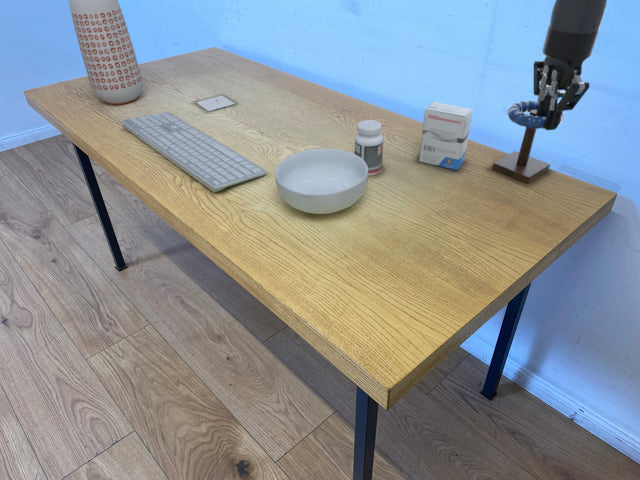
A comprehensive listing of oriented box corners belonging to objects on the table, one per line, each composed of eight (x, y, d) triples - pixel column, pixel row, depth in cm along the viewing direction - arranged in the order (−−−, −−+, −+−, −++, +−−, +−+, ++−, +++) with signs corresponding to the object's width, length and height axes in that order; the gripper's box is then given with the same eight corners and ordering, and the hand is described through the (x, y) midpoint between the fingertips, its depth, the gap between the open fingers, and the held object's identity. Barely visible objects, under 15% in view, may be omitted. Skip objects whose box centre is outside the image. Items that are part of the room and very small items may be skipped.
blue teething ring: (572, 119, 89) (576, 108, 88) (544, 135, 84) (547, 123, 83) (524, 105, 96) (526, 95, 94) (495, 119, 90) (497, 108, 89)
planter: (156, 94, 135) (129, -16, 118) (122, 111, 126) (88, -6, 108) (120, 88, 140) (90, -19, 122) (85, 104, 130) (47, -10, 113)
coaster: (195, 102, 129) (195, 99, 129) (221, 95, 133) (221, 92, 133) (208, 111, 124) (207, 108, 124) (235, 103, 128) (234, 101, 127)
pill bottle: (385, 166, 99) (388, 121, 93) (376, 178, 95) (379, 132, 89) (359, 161, 101) (361, 117, 95) (349, 173, 97) (350, 128, 91)
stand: (548, 170, 96) (566, 112, 89) (527, 184, 92) (544, 124, 85) (513, 156, 101) (527, 100, 94) (491, 169, 97) (505, 111, 90)
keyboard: (268, 175, 97) (267, 165, 95) (216, 197, 91) (214, 187, 89) (167, 114, 124) (166, 105, 122) (122, 128, 117) (119, 119, 116)
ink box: (464, 161, 100) (474, 107, 93) (457, 171, 97) (467, 116, 90) (426, 152, 104) (433, 100, 96) (418, 161, 100) (424, 108, 93)
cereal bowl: (312, 171, 98) (311, 139, 94) (383, 194, 90) (385, 161, 86) (259, 209, 87) (255, 175, 83) (333, 239, 79) (333, 204, 75)
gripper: (623, 34, 71) (586, 140, 82) (570, 14, 82) (544, 109, 93) (577, 37, 70) (546, 144, 81) (530, 16, 81) (508, 112, 92)
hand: (545, 125), depth 87 cm, fingers closed on blue teething ring, 2 cm apart
